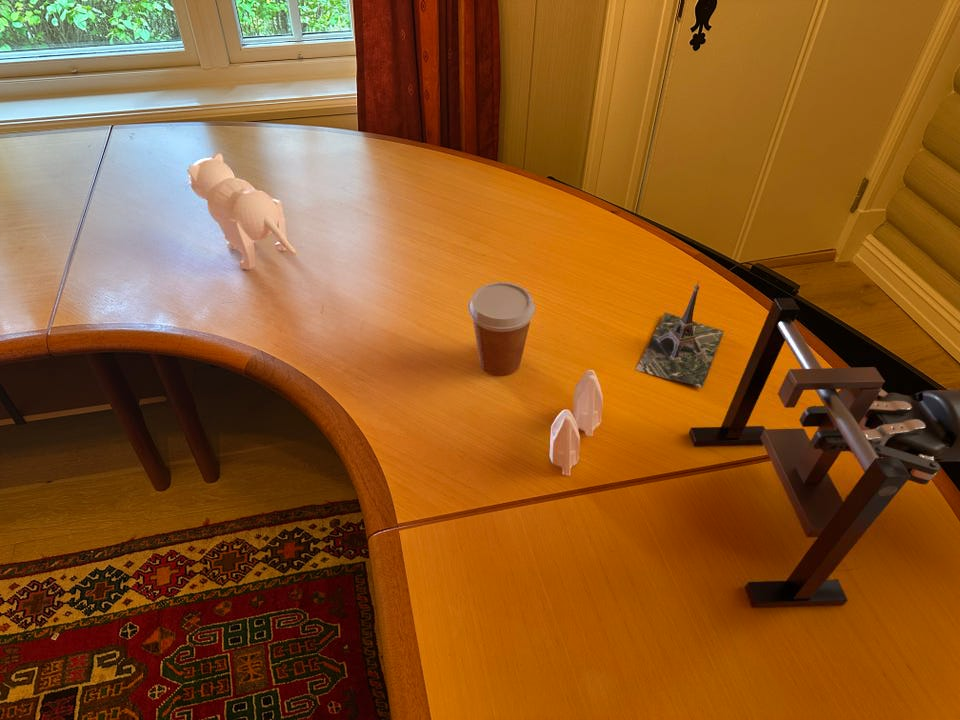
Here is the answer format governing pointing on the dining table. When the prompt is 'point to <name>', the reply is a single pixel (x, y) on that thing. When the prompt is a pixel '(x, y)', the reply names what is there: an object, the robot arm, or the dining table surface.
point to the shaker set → (576, 422)
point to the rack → (880, 473)
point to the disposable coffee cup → (501, 325)
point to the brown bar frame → (793, 448)
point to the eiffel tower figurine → (681, 348)
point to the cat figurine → (238, 208)
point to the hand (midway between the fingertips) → (809, 428)
